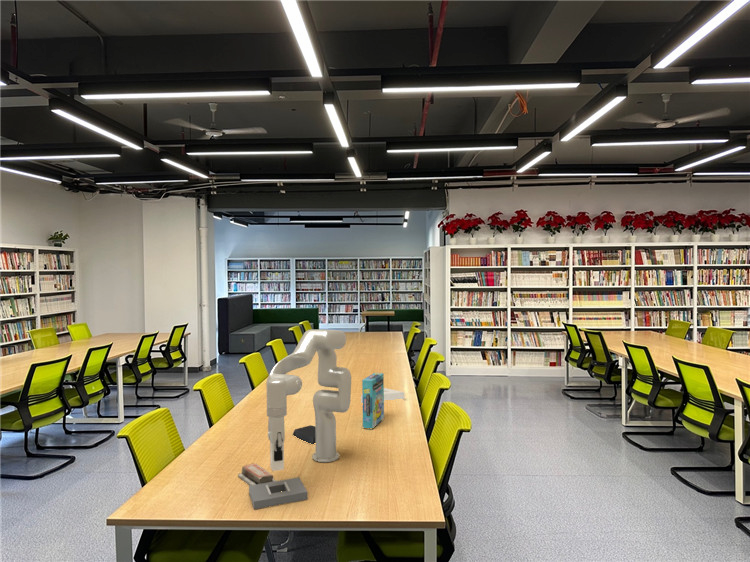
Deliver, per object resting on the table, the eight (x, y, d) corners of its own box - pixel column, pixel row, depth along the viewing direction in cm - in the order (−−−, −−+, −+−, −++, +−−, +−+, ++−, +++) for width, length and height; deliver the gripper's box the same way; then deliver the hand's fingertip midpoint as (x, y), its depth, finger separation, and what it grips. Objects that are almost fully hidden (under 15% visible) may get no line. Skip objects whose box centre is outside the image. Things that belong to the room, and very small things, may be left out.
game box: (373, 430, 261) (372, 380, 261) (362, 428, 263) (361, 380, 263) (384, 419, 281) (384, 373, 280) (374, 418, 283) (373, 372, 282)
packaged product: (237, 466, 203) (258, 460, 209) (237, 477, 203) (258, 471, 210) (256, 480, 189) (278, 473, 196) (256, 492, 189) (278, 485, 196)
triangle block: (404, 401, 320) (404, 392, 320) (377, 410, 301) (377, 400, 301) (372, 393, 340) (372, 385, 340) (345, 401, 322) (345, 392, 322)
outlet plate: (249, 493, 188) (248, 485, 187) (299, 484, 195) (299, 476, 195) (254, 509, 175) (253, 500, 174) (307, 499, 182) (307, 490, 182)
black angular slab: (312, 430, 262) (312, 423, 262) (332, 440, 247) (332, 432, 247) (291, 436, 254) (291, 428, 254) (310, 446, 239) (310, 438, 239)
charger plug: (270, 466, 186) (270, 433, 185) (281, 465, 187) (281, 432, 187) (272, 471, 181) (272, 437, 181) (283, 469, 183) (283, 435, 183)
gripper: (263, 406, 190) (263, 452, 191) (270, 418, 175) (271, 468, 175) (282, 404, 193) (282, 449, 193) (291, 416, 178) (291, 464, 178)
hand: (277, 457), depth 184 cm, fingers closed on charger plug, 4 cm apart
